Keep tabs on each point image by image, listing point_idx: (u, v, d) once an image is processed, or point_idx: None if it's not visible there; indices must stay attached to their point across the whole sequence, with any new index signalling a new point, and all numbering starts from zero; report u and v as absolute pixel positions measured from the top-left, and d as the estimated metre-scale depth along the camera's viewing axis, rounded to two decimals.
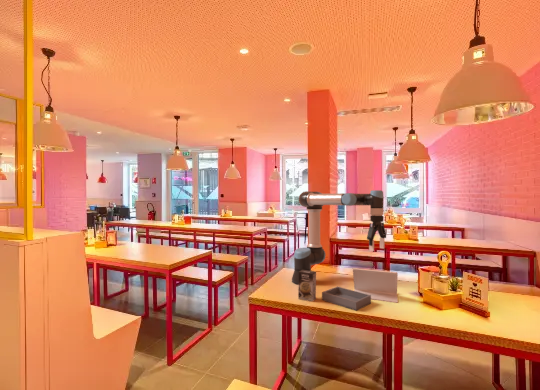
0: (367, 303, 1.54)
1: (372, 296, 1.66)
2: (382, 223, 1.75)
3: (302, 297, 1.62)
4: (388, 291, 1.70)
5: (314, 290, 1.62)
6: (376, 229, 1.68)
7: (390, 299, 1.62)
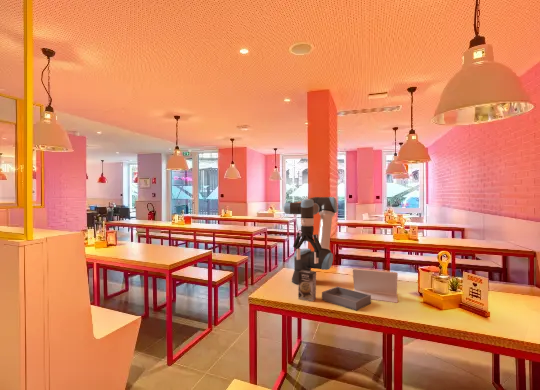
0: (367, 303, 1.54)
1: (372, 296, 1.66)
2: (313, 235, 1.60)
3: (302, 297, 1.62)
4: (388, 291, 1.70)
5: (314, 290, 1.62)
6: (300, 239, 1.66)
7: (390, 299, 1.61)
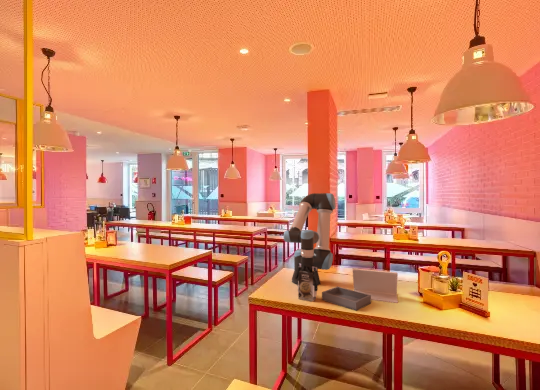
0: (367, 303, 1.54)
1: (372, 296, 1.66)
2: (313, 268, 1.59)
3: (302, 297, 1.62)
4: (388, 291, 1.70)
5: None
6: (301, 270, 1.65)
7: (390, 299, 1.61)
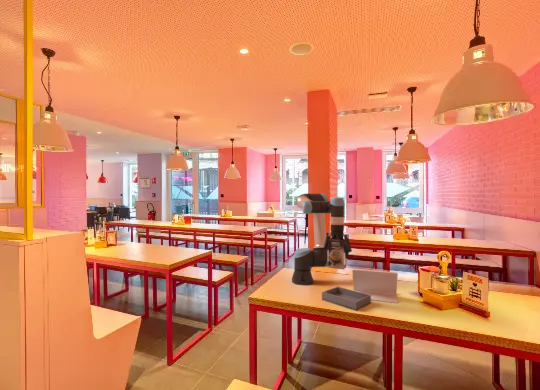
0: (367, 303, 1.54)
1: (372, 297, 1.65)
2: (344, 235, 1.56)
3: (332, 265, 1.58)
4: (387, 291, 1.69)
5: None
6: None
7: (390, 300, 1.61)
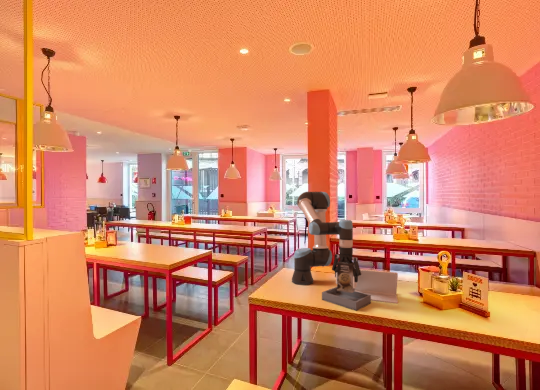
0: (367, 303, 1.54)
1: (372, 297, 1.65)
2: (354, 258, 1.55)
3: (341, 288, 1.58)
4: (387, 292, 1.69)
5: None
6: (339, 261, 1.61)
7: (390, 300, 1.60)
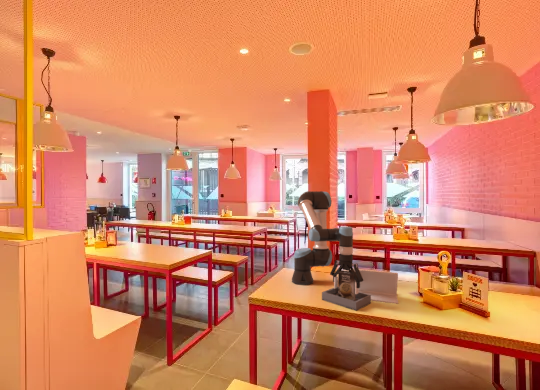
0: (367, 303, 1.54)
1: (372, 297, 1.65)
2: (353, 264, 1.55)
3: None
4: (388, 292, 1.69)
5: None
6: None
7: (390, 300, 1.60)
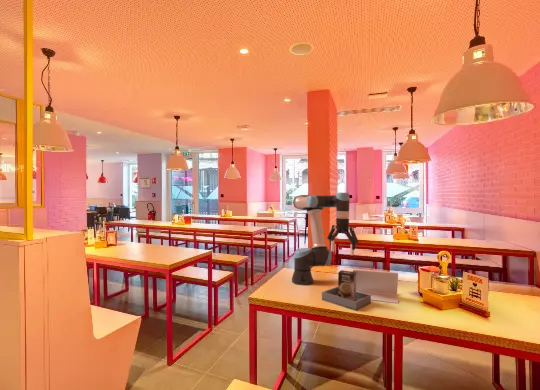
0: (367, 303, 1.54)
1: (372, 297, 1.65)
2: (349, 227, 1.63)
3: None
4: (388, 292, 1.69)
5: (355, 291, 1.57)
6: None
7: (391, 300, 1.60)
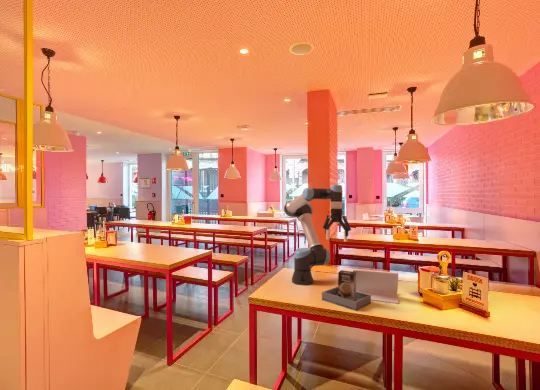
0: (367, 303, 1.54)
1: (372, 297, 1.65)
2: (343, 216, 1.79)
3: None
4: (388, 292, 1.69)
5: (355, 291, 1.57)
6: (330, 220, 1.85)
7: (391, 300, 1.60)
